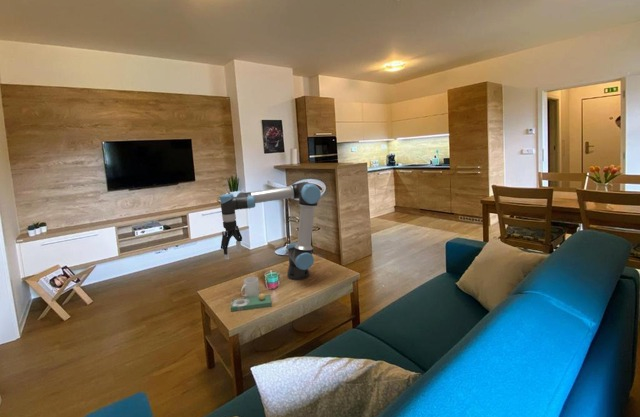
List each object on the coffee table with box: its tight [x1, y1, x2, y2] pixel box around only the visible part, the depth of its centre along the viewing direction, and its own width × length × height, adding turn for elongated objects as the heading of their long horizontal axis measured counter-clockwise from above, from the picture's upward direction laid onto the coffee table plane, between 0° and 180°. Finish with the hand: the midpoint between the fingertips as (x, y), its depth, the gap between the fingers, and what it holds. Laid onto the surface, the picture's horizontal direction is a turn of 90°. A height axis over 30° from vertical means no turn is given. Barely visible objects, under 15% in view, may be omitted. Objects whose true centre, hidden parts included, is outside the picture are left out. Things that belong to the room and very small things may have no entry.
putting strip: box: [230, 294, 272, 313], centre depth 191 cm, size 22×10×2 cm, turn 100°
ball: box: [259, 292, 265, 300], centre depth 191 cm, size 4×4×4 cm
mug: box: [240, 276, 261, 298], centre depth 200 cm, size 9×12×11 cm
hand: (233, 255), depth 200 cm, fingers open, 13 cm apart
